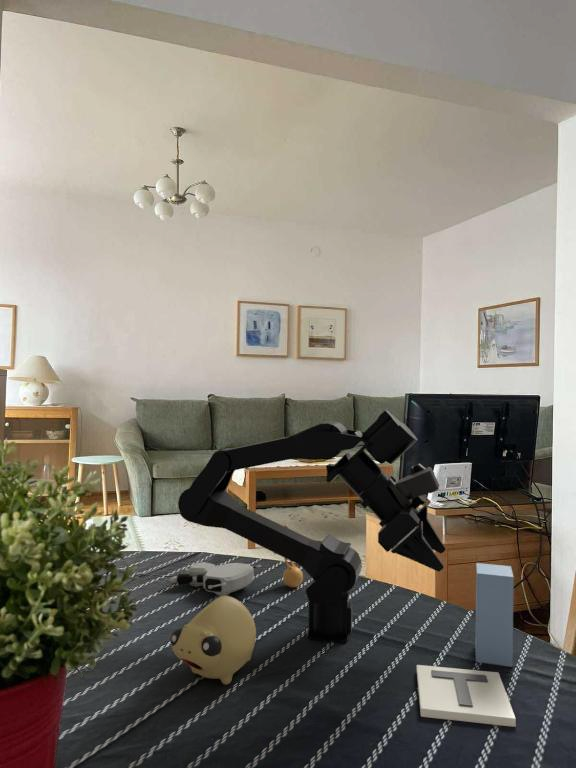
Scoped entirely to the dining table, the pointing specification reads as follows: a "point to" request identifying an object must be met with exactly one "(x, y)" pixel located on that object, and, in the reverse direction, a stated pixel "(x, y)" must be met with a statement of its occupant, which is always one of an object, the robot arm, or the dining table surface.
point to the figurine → (292, 573)
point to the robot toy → (217, 577)
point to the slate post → (494, 614)
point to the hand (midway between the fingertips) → (442, 560)
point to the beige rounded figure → (217, 639)
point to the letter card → (463, 696)
